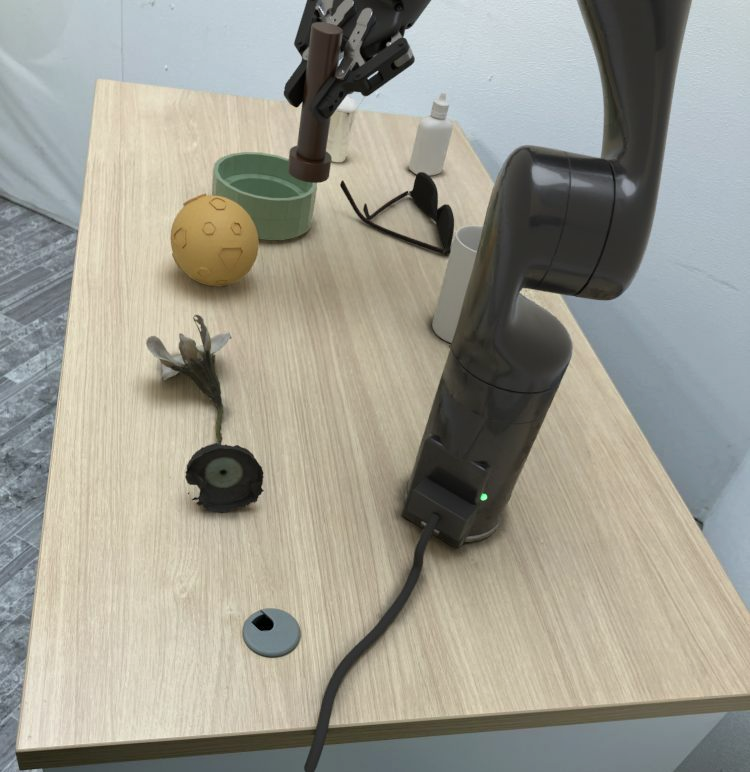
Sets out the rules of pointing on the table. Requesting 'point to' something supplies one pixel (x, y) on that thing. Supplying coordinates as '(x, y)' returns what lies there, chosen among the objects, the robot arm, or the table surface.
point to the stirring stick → (322, 63)
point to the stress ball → (214, 240)
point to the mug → (456, 281)
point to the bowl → (266, 193)
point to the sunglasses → (428, 203)
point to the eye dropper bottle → (432, 139)
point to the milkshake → (341, 129)
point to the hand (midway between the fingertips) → (302, 108)
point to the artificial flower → (216, 462)
